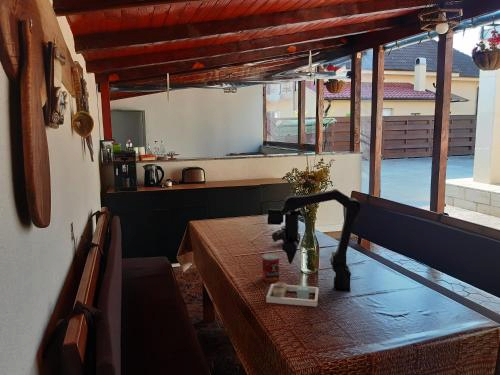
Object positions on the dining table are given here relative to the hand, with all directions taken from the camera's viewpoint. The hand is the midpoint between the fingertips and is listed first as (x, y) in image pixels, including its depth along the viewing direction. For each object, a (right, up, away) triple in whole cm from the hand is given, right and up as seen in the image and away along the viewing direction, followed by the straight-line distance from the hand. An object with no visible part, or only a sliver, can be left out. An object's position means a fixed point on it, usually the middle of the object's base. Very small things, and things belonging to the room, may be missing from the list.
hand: (291, 260), depth 179 cm
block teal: (+4, -14, -10) cm, 17 cm away
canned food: (-8, -11, +11) cm, 17 cm away
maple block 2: (-6, -14, -11) cm, 19 cm away
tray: (0, -14, -9) cm, 16 cm away
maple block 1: (-5, -13, -5) cm, 15 cm away
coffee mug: (+3, -2, +67) cm, 67 cm away
